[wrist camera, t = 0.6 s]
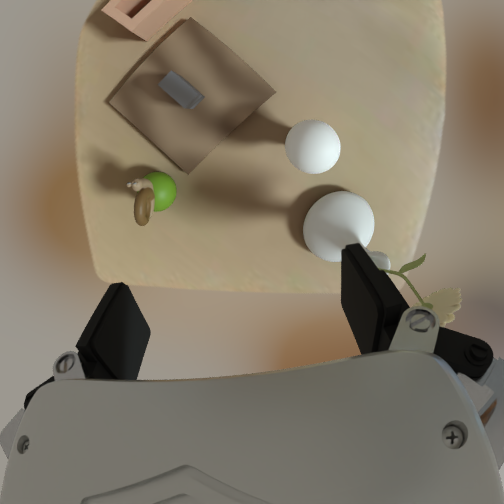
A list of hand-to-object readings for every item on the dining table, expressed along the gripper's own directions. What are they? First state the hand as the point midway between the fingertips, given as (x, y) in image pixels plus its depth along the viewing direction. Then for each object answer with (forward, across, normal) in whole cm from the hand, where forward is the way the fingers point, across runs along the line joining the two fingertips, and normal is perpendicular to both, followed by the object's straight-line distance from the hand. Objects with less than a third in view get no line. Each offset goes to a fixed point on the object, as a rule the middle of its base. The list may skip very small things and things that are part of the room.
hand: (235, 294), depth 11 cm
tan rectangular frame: (+29, +8, -26) cm, 40 cm away
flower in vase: (+29, -14, +12) cm, 34 cm away
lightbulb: (+29, -8, -2) cm, 30 cm away
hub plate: (+29, +5, -11) cm, 31 cm away
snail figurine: (+29, +12, 0) cm, 31 cm away
